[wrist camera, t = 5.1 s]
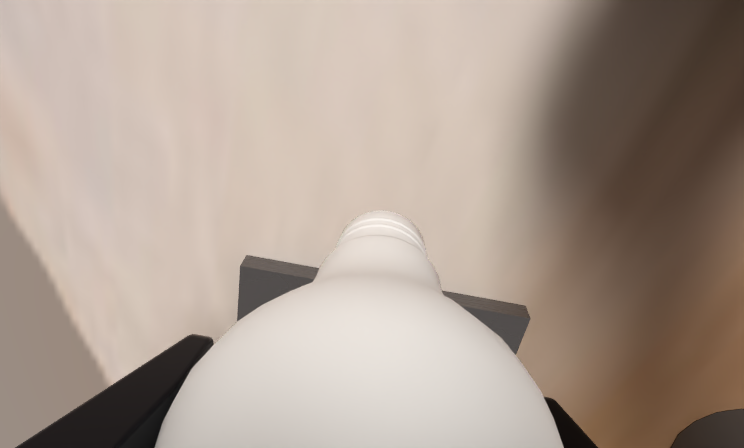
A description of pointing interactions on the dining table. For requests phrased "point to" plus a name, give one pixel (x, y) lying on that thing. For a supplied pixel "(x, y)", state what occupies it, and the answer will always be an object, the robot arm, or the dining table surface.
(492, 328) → the bulb socket
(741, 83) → the dining table surface
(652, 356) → the dining table surface
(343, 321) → the lightbulb
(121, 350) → the dining table surface
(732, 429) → the candle holder
